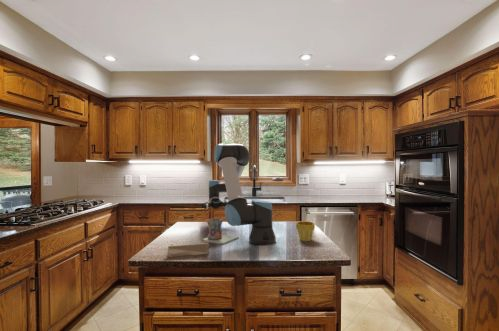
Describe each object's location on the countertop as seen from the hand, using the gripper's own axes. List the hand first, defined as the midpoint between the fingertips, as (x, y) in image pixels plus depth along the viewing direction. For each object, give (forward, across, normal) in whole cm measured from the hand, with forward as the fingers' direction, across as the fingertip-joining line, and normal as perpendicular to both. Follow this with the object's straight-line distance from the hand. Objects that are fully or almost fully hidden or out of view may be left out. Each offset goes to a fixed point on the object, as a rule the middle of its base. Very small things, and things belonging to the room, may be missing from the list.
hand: (218, 206), depth 172 cm
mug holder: (+24, +18, -19) cm, 35 cm away
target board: (+10, 0, -18) cm, 21 cm away
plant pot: (+23, -47, -19) cm, 56 cm away
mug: (+8, +3, -17) cm, 20 cm away
